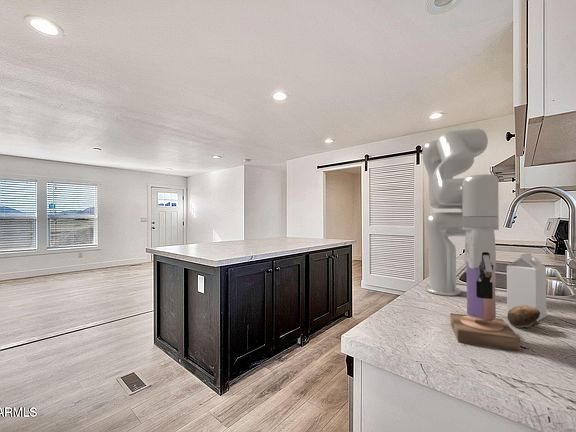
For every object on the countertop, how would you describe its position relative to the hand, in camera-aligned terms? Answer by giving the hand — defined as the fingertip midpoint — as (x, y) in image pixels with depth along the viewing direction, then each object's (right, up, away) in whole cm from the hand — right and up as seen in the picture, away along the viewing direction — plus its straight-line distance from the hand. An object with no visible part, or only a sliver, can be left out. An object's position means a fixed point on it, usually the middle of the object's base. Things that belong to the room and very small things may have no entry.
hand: (480, 293), depth 69 cm
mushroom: (+15, -11, +5) cm, 20 cm away
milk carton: (+23, -11, +13) cm, 28 cm away
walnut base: (0, -11, 0) cm, 11 cm away
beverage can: (0, -6, 0) cm, 6 cm away
